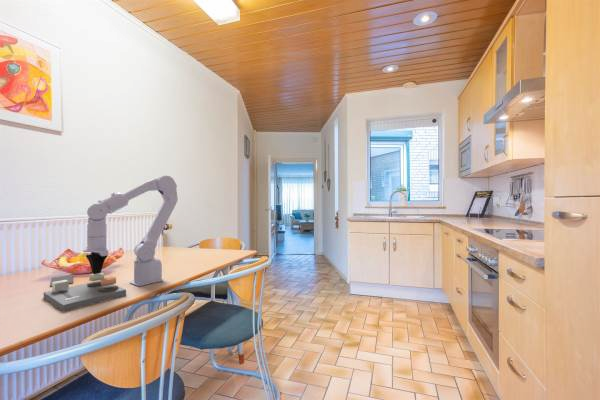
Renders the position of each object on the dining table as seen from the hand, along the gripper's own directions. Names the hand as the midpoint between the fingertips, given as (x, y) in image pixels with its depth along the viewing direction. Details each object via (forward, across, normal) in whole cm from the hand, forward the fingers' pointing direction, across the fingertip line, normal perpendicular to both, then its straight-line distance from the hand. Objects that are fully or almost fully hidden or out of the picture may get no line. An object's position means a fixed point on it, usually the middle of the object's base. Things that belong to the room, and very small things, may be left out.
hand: (96, 273), depth 99 cm
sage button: (+2, 0, 0) cm, 2 cm away
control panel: (+6, +5, -5) cm, 9 cm away
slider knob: (+4, -2, -10) cm, 11 cm away
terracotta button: (+2, +10, 0) cm, 10 cm away
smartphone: (+7, -25, -3) cm, 26 cm away
